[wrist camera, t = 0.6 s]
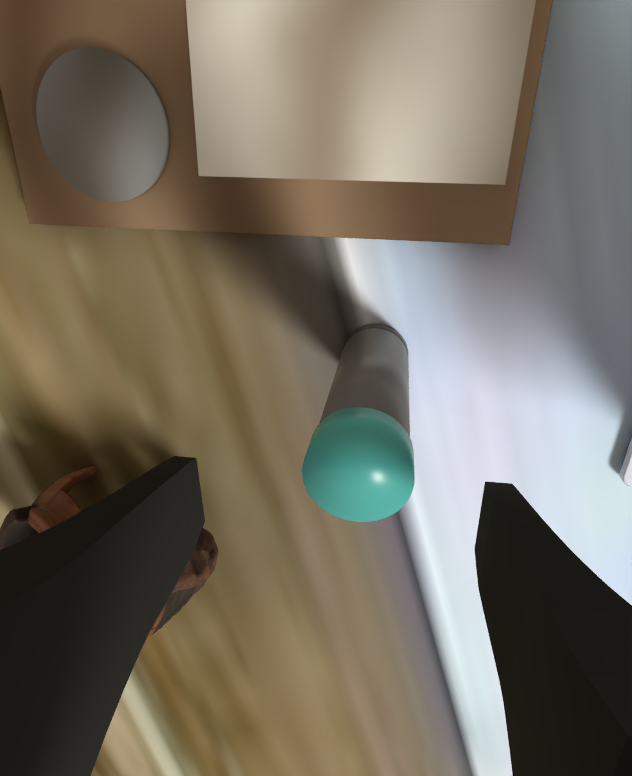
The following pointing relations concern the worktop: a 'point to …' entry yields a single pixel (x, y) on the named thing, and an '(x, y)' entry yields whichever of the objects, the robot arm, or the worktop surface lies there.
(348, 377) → the marker
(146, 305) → the worktop surface
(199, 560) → the reddish-brown lumpy part
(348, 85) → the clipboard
